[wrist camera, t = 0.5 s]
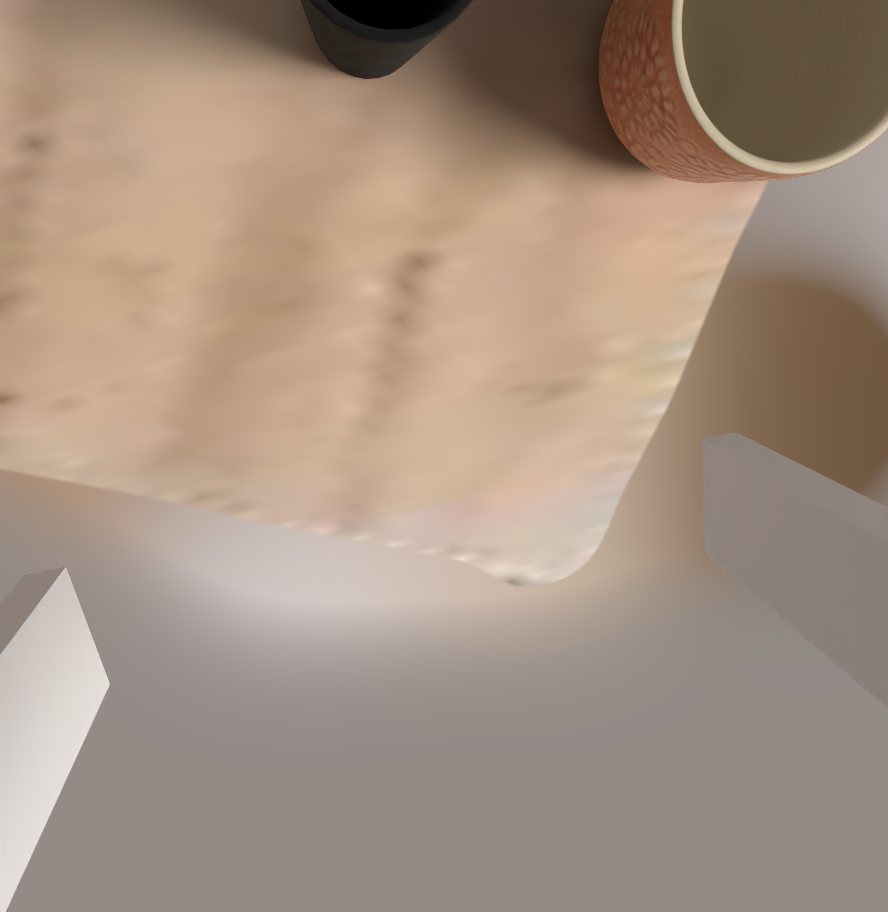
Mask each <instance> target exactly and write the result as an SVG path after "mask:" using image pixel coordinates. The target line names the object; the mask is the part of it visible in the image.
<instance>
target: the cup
mask: <svg viewBox="0 0 888 912" xmlns="http://www.w3.org/2000/svg"><path fill="white" fill-rule="evenodd" d="M300 1H301V3H302V6H303V8H304V11H305V14H306V16H307V19H308V21H309V24H310V26H311V29H312V32H313V34H314V36H315V39H316V41H317V43H318V45H319V47H320V49H321V50H322V52H323V53H324V54H325V56H326V57H327V58H328V60H329V61H330V62H331V63H333V64H334V65H335V66H336V67H337V68H338V69H340V70H341V71H343V72H345V73H347V74H349V75H351V76H355V77H359V78H364V79H371V78H380V77H383V76H386V75H389V74H391V73H392V72H394V71H395V70H397V69H398V68H400V67H401V66H402V65H403V64H405V63H406V62H407V61H408V60H409V59H410V58H412V57H413V56H414V55H415V54H416V53H417V52H419V51H420V50H421V49H422V48H423V47H424V46H425V45H427V44H428V43H429V42H430V41H431V40H432V39H434V38H435V37H436V36H437V35H438V34H439V33H441V32H442V31H443V30H444V29H445V28H446V27H447V26H449V25H450V24H451V23H452V22H453V21H454V20H456V18H457V17H458V16H459V15H460V14H461V13H462V12H463V10H464V9H465V8H466V7H467V6H468V5H469V4H470V2H471V1H472V0H300Z"/></svg>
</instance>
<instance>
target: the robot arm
mask: <svg viewBox="0 0 888 912" xmlns="http://www.w3.org/2000/svg"><path fill="white" fill-rule="evenodd" d="M702 440H703V498H704V499H703V501H704V553H705V554H706V555H707V556H709V557H710V558H711V559H712V560H713V561H715V562H716V563H717V564H718V565H719V566H721V567H722V568H723V569H724V570H725V571H726V572H728V573H729V574H730V575H731V576H732V577H733V578H735V579H736V580H737V581H738V582H739V583H740V584H742V585H743V586H744V587H745V588H746V589H748V590H749V591H750V592H751V593H752V594H753V595H755V596H756V597H757V598H758V599H759V600H760V601H762V602H763V603H764V604H765V605H767V606H768V607H769V608H770V609H771V610H772V611H774V612H775V613H776V614H777V615H778V616H780V617H781V618H782V619H783V620H784V621H785V622H786V623H788V624H789V625H790V626H791V627H792V628H794V629H795V630H796V631H797V632H798V633H799V634H801V635H802V636H803V637H804V638H805V639H806V640H808V641H809V642H810V643H811V644H813V645H814V646H815V647H816V648H817V649H818V650H819V651H821V652H822V653H823V654H824V655H825V656H827V657H828V658H829V659H830V660H831V661H832V662H834V663H835V664H836V665H837V666H838V667H839V668H841V669H842V670H843V671H844V672H845V673H847V674H848V675H849V676H850V677H851V678H852V679H854V680H855V681H856V682H857V683H858V684H859V685H861V686H862V687H863V688H864V689H865V690H867V691H868V692H869V693H870V694H871V695H872V696H874V697H875V698H876V699H877V700H878V701H880V702H881V703H882V704H883V705H884V706H886V707H887V708H888V508H887V507H885V506H883V505H881V504H879V503H877V502H875V501H873V500H871V499H869V498H867V497H865V496H863V495H861V494H859V493H857V492H855V491H853V490H851V489H849V488H847V487H845V486H843V485H841V484H839V483H837V482H835V481H833V480H831V479H829V478H827V477H825V476H823V475H821V474H819V473H817V472H815V471H813V470H811V469H808V468H807V467H805V466H803V465H801V464H799V463H797V462H795V461H792V460H790V459H788V458H786V457H784V456H782V455H780V454H778V453H776V452H774V451H772V450H770V449H768V448H766V447H764V446H762V445H760V444H758V443H756V442H754V441H752V440H750V439H748V438H746V437H744V436H742V435H740V434H738V433H730V434H725V435H720V436H715V437H710V438H705V439H702ZM109 685H110V684H109V681H108V679H107V676H106V673H105V671H104V668H103V665H102V663H101V660H100V657H99V654H98V652H97V649H96V647H95V644H94V641H93V639H92V636H91V633H90V630H89V628H88V625H87V622H86V620H85V617H84V614H83V612H82V609H81V606H80V604H79V601H78V598H77V596H76V593H75V590H74V588H73V585H72V582H71V580H70V577H69V574H68V572H67V569H66V567H63V568H58V569H53V570H48V571H43V572H38V573H33V574H28V575H24V576H23V577H22V579H21V580H20V581H19V582H18V583H17V584H16V586H15V587H14V588H13V589H12V590H11V591H10V593H9V594H8V595H7V596H6V597H5V599H4V600H3V601H2V602H1V603H0V912H6V910H7V907H8V905H9V903H10V901H11V899H12V897H13V894H14V892H15V890H16V888H17V886H18V883H19V881H20V879H21V877H22V875H23V873H24V870H25V868H26V866H27V864H28V862H29V859H30V857H31V855H32V853H33V851H34V849H35V846H36V844H37V842H38V840H39V838H40V835H41V833H42V831H43V829H44V827H45V824H46V822H47V820H48V818H49V816H50V814H51V811H52V809H53V807H54V805H55V803H56V800H57V798H58V796H59V794H60V792H61V790H62V787H63V785H64V783H65V781H66V779H67V776H68V774H69V772H70V770H71V768H72V766H73V763H74V761H75V759H76V757H77V754H78V752H79V750H80V748H81V746H82V743H83V741H84V739H85V737H86V735H87V733H88V731H89V728H90V726H91V724H92V722H93V720H94V717H95V715H96V713H97V711H98V709H99V706H100V704H101V702H102V700H103V698H104V695H105V693H106V691H107V689H108V687H109Z"/></svg>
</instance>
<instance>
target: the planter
mask: <svg viewBox="0 0 888 912" xmlns="http://www.w3.org/2000/svg"><path fill="white" fill-rule="evenodd" d="M599 83H600V91H601V96H602V101H603V104H604V108H605V111H606V114H607V117H608V119H609V121H610V124H611V126H612V128H613V130H614V131H615V133H616V135H617V136H618V138H619V139H620V141H621V142H622V144H623V145H624V146H625V147H626V148H627V150H628V151H629V152H630V153H631V154H632V155H633V156H634V157H635V158H637V159H638V160H639V161H640V162H641V163H643V164H644V165H645V166H647V167H649V168H650V169H652V170H654V171H656V172H658V173H660V174H662V175H665V176H667V177H670V178H673V179H677V180H682V181H689V182H697V183H719V182H747V181H765V180H779V179H789V178H795V177H800V176H805V175H809V174H813V173H816V172H819V171H822V170H825V169H828V168H830V167H833V166H835V165H837V164H840V163H842V162H844V161H846V160H847V159H849V158H851V157H852V156H854V155H856V154H857V153H859V152H860V151H862V150H863V149H865V148H866V147H867V146H868V145H870V144H871V143H872V142H873V141H875V140H876V139H877V138H878V137H879V136H880V135H881V134H882V133H883V132H884V131H885V130H886V129H887V128H888V0H614V1H613V3H612V6H611V8H610V11H609V13H608V16H607V19H606V22H605V26H604V30H603V34H602V39H601V45H600V53H599Z"/></svg>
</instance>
